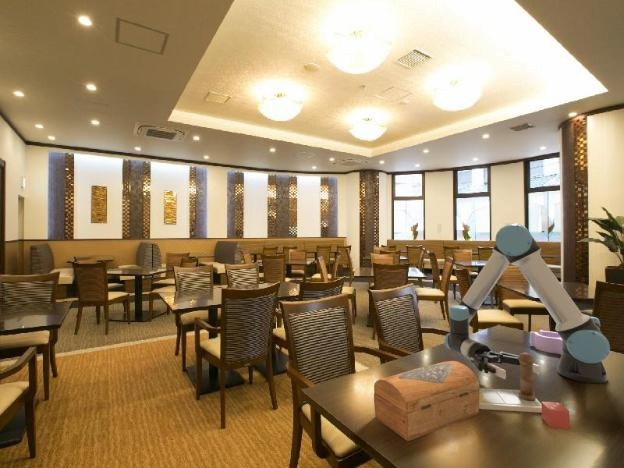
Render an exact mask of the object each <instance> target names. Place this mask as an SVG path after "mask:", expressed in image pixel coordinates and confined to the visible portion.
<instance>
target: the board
mask: <svg viewBox="0 0 624 468" xmlns="http://www.w3.org/2000/svg"><path fill="white" fill-rule="evenodd" d="M519 390H520V389H505V388H504V389H503V388H487V387H486V388H484V387H480V389H479V410H480V409H481V410H493V411H509V412H511V411H512V412H525V413H527V412H528V413H541V414H542V402H540V401H539V400H538V398H536V400H535V401H526V400H523V399H521V398H519V397H518V391H519Z"/></svg>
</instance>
